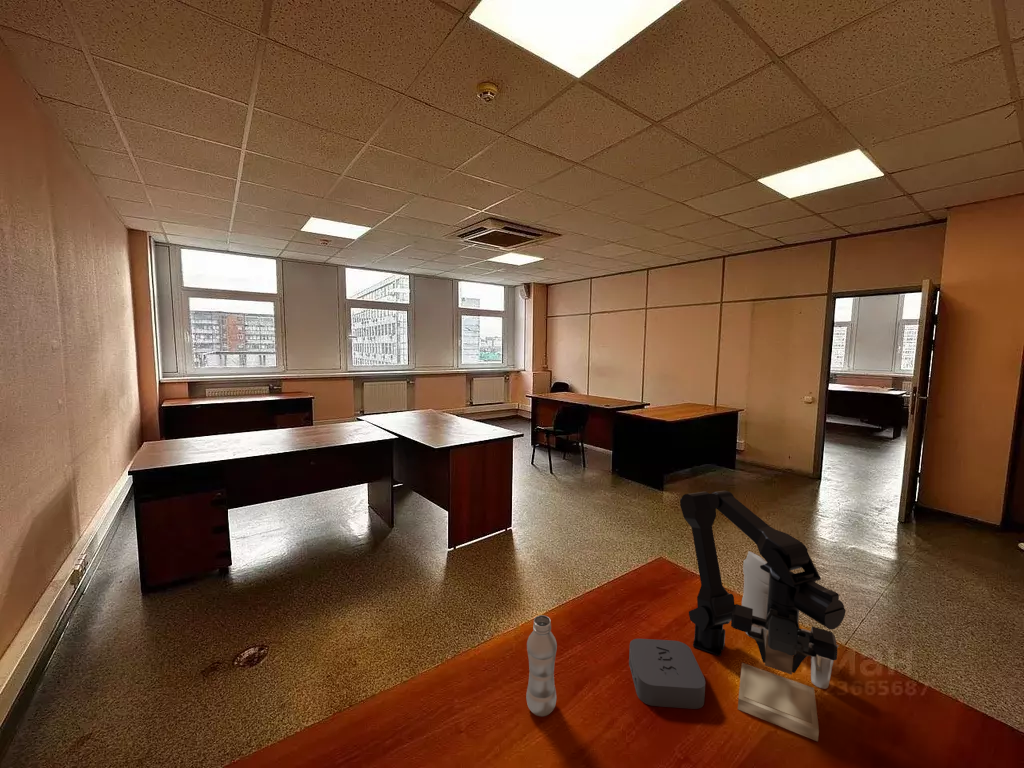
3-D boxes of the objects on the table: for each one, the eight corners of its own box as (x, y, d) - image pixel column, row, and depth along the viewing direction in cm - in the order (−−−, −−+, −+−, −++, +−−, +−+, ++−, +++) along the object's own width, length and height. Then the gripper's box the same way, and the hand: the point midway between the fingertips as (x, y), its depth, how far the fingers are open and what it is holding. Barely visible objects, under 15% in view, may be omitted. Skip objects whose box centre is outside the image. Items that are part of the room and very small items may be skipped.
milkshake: (840, 693, 95) (844, 652, 94) (813, 689, 96) (816, 648, 95) (829, 677, 99) (832, 638, 98) (803, 674, 100) (807, 634, 99)
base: (737, 709, 91) (738, 697, 91) (741, 672, 101) (742, 661, 101) (817, 741, 84) (818, 729, 83) (813, 698, 94) (813, 687, 93)
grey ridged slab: (775, 647, 109) (781, 566, 107) (760, 648, 109) (766, 567, 107) (747, 620, 120) (751, 546, 118) (733, 621, 119) (738, 547, 117)
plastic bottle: (559, 699, 93) (560, 614, 91) (552, 725, 87) (553, 634, 85) (531, 691, 95) (532, 607, 93) (522, 716, 89) (522, 627, 87)
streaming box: (708, 711, 91) (709, 689, 90) (639, 706, 92) (640, 684, 91) (686, 660, 105) (687, 641, 104) (626, 657, 106) (627, 637, 106)
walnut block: (764, 665, 93) (766, 640, 92) (764, 651, 97) (766, 626, 97) (791, 674, 90) (793, 648, 90) (790, 659, 95) (792, 634, 94)
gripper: (731, 604, 88) (726, 673, 89) (844, 637, 78) (837, 714, 80) (735, 578, 97) (731, 641, 99) (836, 605, 88) (830, 675, 89)
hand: (778, 666), depth 91 cm, fingers closed on walnut block, 5 cm apart
